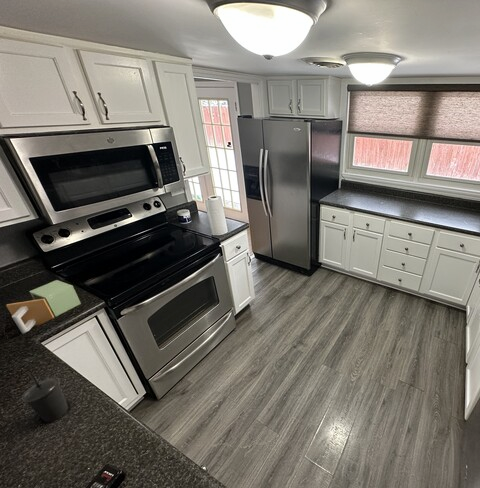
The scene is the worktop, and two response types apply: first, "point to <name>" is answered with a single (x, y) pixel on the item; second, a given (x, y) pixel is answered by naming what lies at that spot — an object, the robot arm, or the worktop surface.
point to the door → (30, 313)
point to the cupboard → (57, 296)
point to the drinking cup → (46, 398)
